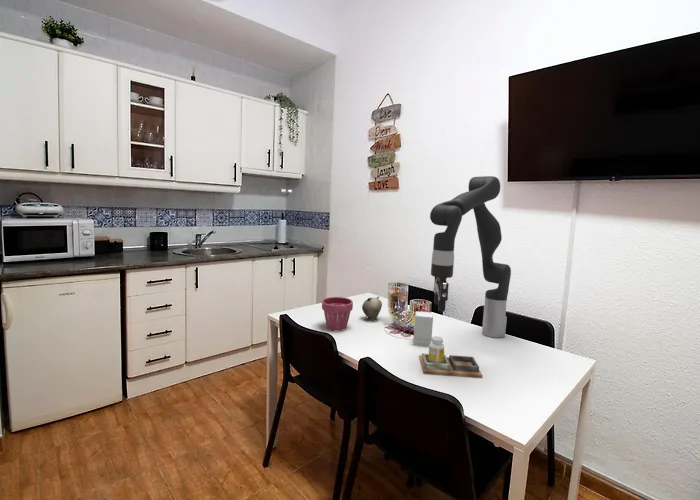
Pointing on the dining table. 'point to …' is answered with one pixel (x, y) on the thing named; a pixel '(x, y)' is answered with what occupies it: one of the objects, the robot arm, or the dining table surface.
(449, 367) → the socket board
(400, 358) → the dining table surface
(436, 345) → the supplement bottle
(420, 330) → the supplement box
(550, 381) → the dining table surface
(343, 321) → the plant pot
